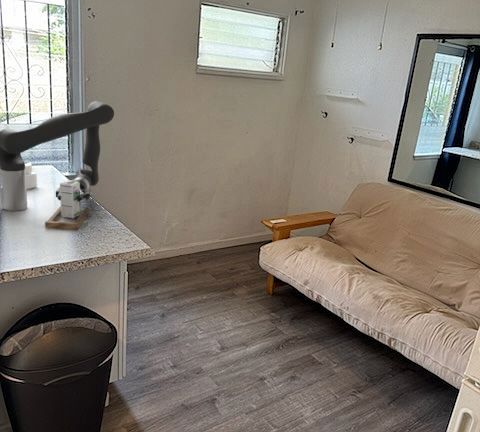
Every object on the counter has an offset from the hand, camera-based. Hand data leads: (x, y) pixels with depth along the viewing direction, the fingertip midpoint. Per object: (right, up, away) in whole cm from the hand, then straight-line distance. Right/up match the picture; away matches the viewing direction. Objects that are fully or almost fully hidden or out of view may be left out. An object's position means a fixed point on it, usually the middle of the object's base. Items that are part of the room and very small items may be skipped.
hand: (69, 198), depth 181 cm
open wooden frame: (0, -9, +2) cm, 9 cm away
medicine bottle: (-35, +7, +35) cm, 50 cm away
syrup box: (-1, -7, +5) cm, 8 cm away
